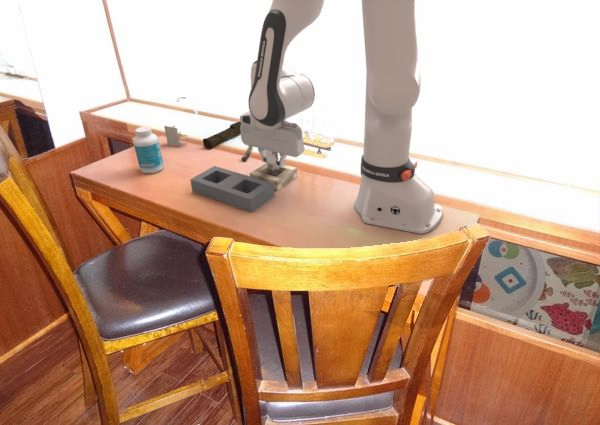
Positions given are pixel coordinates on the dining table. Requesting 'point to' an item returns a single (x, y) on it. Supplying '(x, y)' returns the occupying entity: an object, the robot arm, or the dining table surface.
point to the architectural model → (173, 136)
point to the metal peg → (272, 163)
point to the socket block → (279, 181)
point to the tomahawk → (247, 153)
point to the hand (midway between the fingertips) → (273, 163)
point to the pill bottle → (148, 150)
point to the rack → (233, 188)
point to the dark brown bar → (223, 135)
